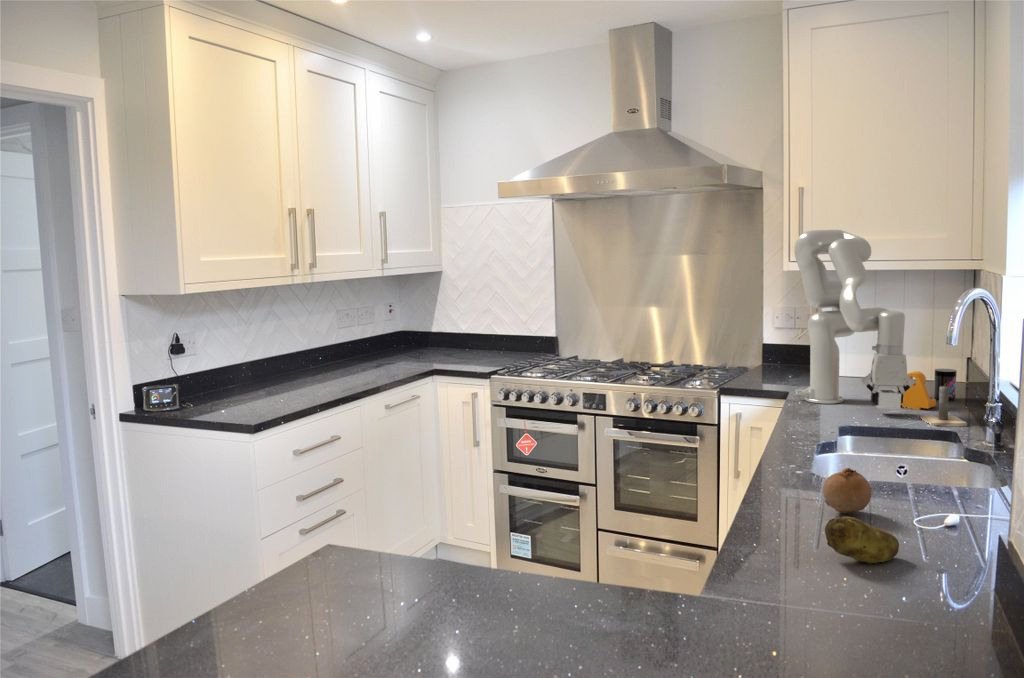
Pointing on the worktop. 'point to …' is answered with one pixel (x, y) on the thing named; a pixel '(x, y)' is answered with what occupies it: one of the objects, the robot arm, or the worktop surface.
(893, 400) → the collar
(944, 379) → the supplement container
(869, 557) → the potato
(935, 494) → the worktop surface
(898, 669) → the worktop surface
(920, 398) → the bracket
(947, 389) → the post stand
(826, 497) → the onion
